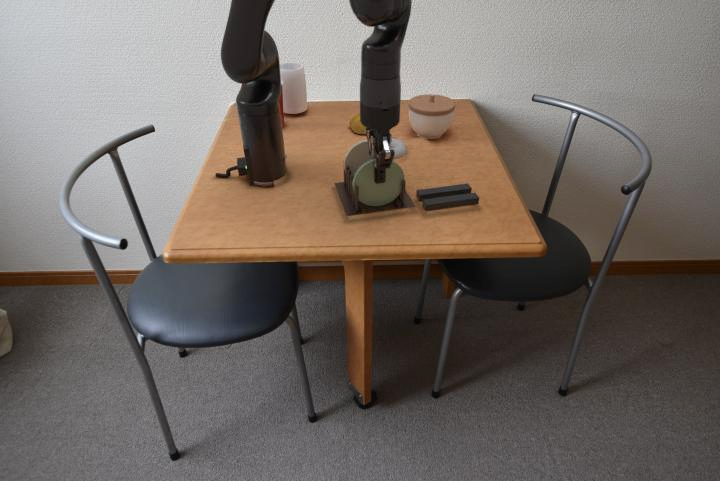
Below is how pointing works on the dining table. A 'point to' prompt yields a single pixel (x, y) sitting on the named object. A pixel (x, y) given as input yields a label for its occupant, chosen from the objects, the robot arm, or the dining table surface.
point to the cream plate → (357, 156)
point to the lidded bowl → (430, 115)
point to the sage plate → (378, 192)
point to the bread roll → (357, 125)
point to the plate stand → (447, 197)
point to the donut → (398, 148)
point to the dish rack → (357, 207)
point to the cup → (293, 87)
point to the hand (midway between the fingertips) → (378, 180)
